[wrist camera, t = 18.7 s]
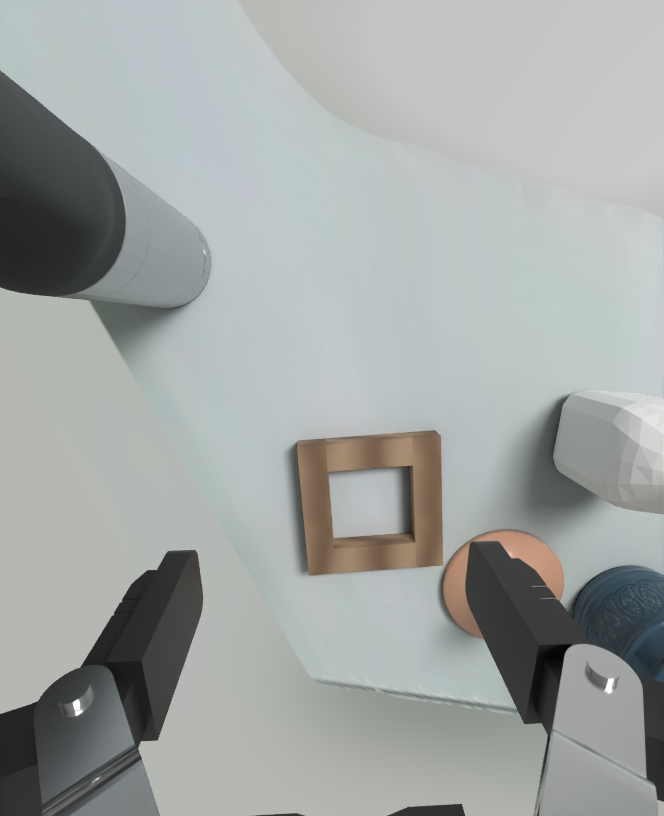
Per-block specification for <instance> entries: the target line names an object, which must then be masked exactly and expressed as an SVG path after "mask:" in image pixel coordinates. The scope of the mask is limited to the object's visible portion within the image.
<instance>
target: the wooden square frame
mask: <svg viewBox="0 0 664 816" xmlns="http://www.w3.org/2000/svg"><path fill="white" fill-rule="evenodd" d="M297 455H298V466H299V476H300V487H301V497H302V508H303V519H304V529H305V540H306V550H307V561H308V572H309V575H321V574H334V573H348V572H361V571H374V570H387V569H400V568H413V567H426V566H439V565H443V538H442V477H441V436H440V435H439V434H438V433H437V432H436V431H421V432H408V433H395V434H381V435H368V436H355V437H341V438H328V439H315V440H301V441H298V443H297ZM399 466H409V485H410V515H411V533H400V534H387V535H374V536H361V537H348V538H334V539H333V528H332V515H331V502H330V490H329V477H328V472H333V471H346V470H360V469H373V468H386V467H399Z"/></svg>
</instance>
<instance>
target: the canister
mask: <svg viewBox="0 0 664 816" xmlns="http://www.w3.org/2000/svg"><path fill="white" fill-rule="evenodd" d="M573 620H574V621H575V622H576V624H577V625H578V626H579V628H580V629H581V630H582V631H583V633H584V634H585V635H586V637H587V638H588V639H589V641H590V642H591V643H592V644H593V645H594V646H598V647H600V648H603V649H605V650H607V651H610V652H611V653H613V654H615V655H616V656H618V657H619V658H621V659H622V660H623V661H624V662H626V663H627V664H628V665H629V666H630V667H631V668H632V669H633V670H634V672H635V673H636V674H637V676H640V677H643V678H647V679H651V680H656V681H660V682H664V575H663V574H660V573H658V572H656V571H654V570H652V569H649V568H646V567H642V566H622V567H618V568H614V569H611V570H608V571H606V572H604V573H602V574H600V575H599V576H597V577H596V578H595V579H593V580H592V581H591V582H590V583H589V584H588V585H587V586H586V587H585V588H584V589H583V590H582V592H581V593H580V595H579V597H578V599H577V601H576V603H575V606H574V610H573Z"/></svg>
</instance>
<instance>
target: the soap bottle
mask: <svg viewBox="0 0 664 816" xmlns="http://www.w3.org/2000/svg"><path fill="white" fill-rule="evenodd" d="M553 459H554V463H555V466H556V468H557V470H558V471H559V472H560V473H562V474H564V475H565V476H567V477H568V478H570V479H572V480H573V481H575V482H576V483H578V484H580V485H581V486H583V487H584V488H586V489H588V490H589V491H591V492H592V493H594V494H596V495H597V496H599V497H600V498H602V499H604V500H605V501H607V502H609V503H611V504H613V505H614V506H618V507H621V508H624V509H630V510H635V511H642V512H650V513H657V514H664V398H661V397H656V396H652V395H647V394H642V393H629V392H614V391H600V390H582V391H579V392H576V393H573V394H571V395H570V396H569V397H568V399H567V400H566V401H565V403H564V404H563V407H562V412H561V417H560V422H559V428H558V433H557V438H556V443H555V448H554V454H553Z"/></svg>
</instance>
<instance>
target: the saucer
mask: <svg viewBox="0 0 664 816" xmlns="http://www.w3.org/2000/svg"><path fill="white" fill-rule="evenodd" d="M472 541H499V542H500V543H501V544H502V546H503V547H504V549H505V550H506V551H507V553H508V554H509V556H510V557H511V558H520V559H521V560H522V561H524V562H525V563H526V564H528V565H529V566H531V567H532V568H533V569H535V570H536V571H537V573H538V574H539V575H540V577H541V578H542V579H543V581H544V582H545V583H546V584H547V587H549V588H550V590H551V591H552V592H553V594H554V595H555V596H556V600H559V601H560V600H561V597H562V593H563V588H564V575H563V570H562V567H561V564H560V562H559V560H558V558H557V557H556V555H555V554H554V553H553V552H552V551H551V550H550V549H549V548H548V547H547V546H546V545H545V544H544V543H543V542H542V541H541V540H539V539H538V538H536V537H534V536H533V535H531V534H528V533H525V532H522V531H517V530H496V531H491V532H487V533H484V534H482V535H479V536H477V537H475V538H473V539H471V540H470V541H468V542H467V543H466V544H464V545H463V546H462V547H461V548H460V549H459V550H458V551H457V552H456V553H455V554H454V555H453V557H452V558H451V560H450V561H449V563H448V565H447V567H446V570H445V573H444V577H443V584H442V590H443V597H444V601H445V603H446V606H447V608H448V610H449V613H450V614H451V616H452V618H453V619H454V620H455V622H456V623H457V624H458V625H459V626H460V627H461V628H462V629H464V630H465V631H467V632H468V633H470V634H472V635H474V636H477V637H480V638H483V636H482V633H481V631H480V629H479V627H478V625H477V623H476V621H475V619H474V617H473V614H472V612H471V610H470V608H469V605H468V602H467V598H466V592H465V581H466V572H467V562H468V553H469V546H470V543H471V542H472Z"/></svg>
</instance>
